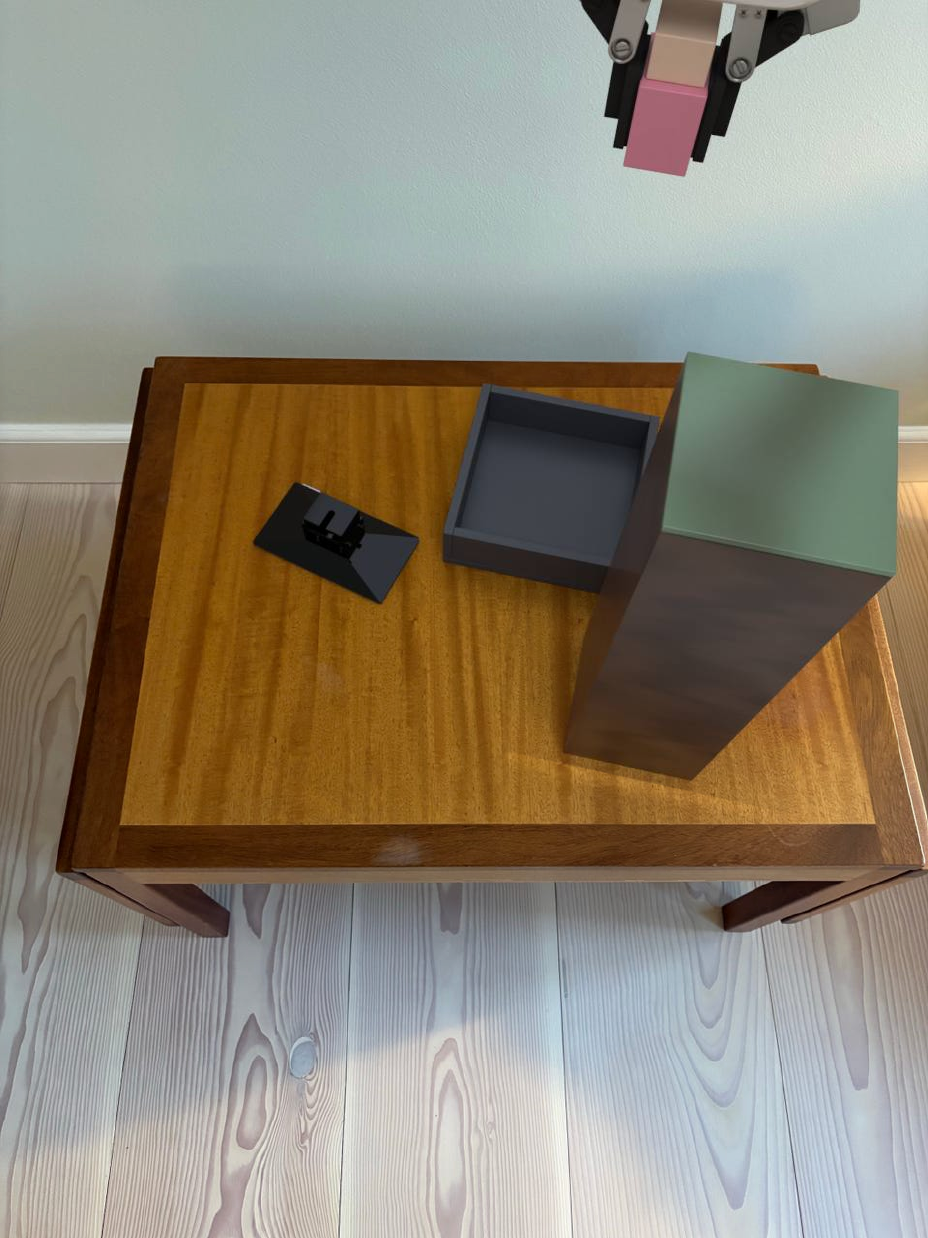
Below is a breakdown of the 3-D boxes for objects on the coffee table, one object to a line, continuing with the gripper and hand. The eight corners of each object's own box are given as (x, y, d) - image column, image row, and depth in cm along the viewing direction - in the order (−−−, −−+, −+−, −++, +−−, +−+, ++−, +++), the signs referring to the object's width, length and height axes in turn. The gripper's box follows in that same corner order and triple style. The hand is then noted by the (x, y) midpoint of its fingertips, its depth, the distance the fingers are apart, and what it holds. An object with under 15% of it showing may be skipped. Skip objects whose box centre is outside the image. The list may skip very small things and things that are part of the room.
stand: (705, 662, 72) (899, 389, 42) (691, 781, 68) (897, 573, 38) (583, 637, 73) (687, 350, 43) (563, 753, 69) (662, 526, 38)
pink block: (694, 123, 44) (729, -6, 39) (684, 177, 42) (720, 50, 37) (634, 113, 44) (660, -16, 39) (622, 166, 43) (648, 39, 37)
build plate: (252, 545, 76) (241, 516, 72) (297, 481, 79) (289, 450, 75) (380, 605, 74) (376, 578, 69) (422, 537, 77) (420, 507, 72)
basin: (648, 449, 81) (660, 416, 77) (624, 599, 75) (636, 572, 70) (480, 417, 82) (482, 382, 78) (442, 561, 76) (442, 532, 71)
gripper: (1073, -448, 27) (835, 115, 44) (549, -508, 29) (510, 61, 45) (1091, -344, 24) (827, 220, 41) (501, -416, 25) (478, 159, 42)
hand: (661, 133), depth 43 cm, fingers closed on pink block, 3 cm apart
